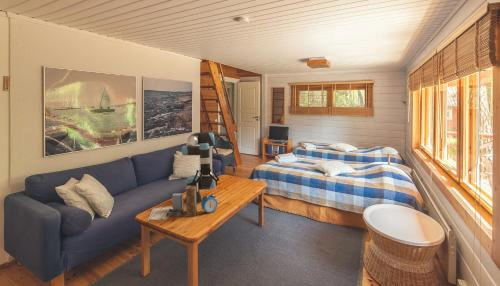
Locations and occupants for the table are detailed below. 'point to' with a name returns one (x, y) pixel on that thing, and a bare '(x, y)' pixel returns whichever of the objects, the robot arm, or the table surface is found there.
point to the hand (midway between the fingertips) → (206, 190)
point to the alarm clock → (209, 203)
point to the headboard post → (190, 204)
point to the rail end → (177, 201)
